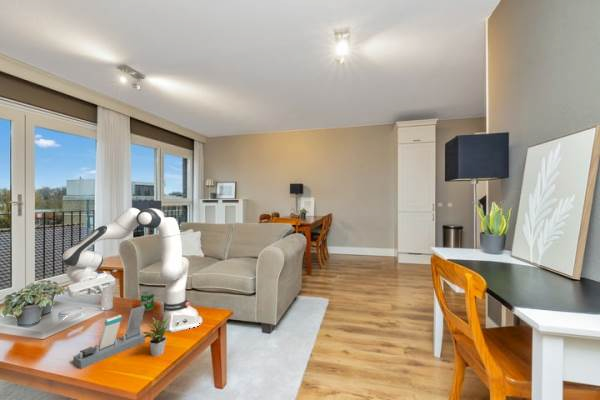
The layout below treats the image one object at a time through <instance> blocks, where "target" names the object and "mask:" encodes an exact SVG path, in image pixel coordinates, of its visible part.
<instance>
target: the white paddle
mask: <svg viewBox="0 0 600 400" xmlns="http://www.w3.org/2000/svg"><path fill="white" fill-rule="evenodd" d="M122 319H123V315H122V314H118V315H116V316H112V317H109V318H107V319H105V321H104V326H103V329H102V332H101V335H100V339H99V343H98V346H99V349H102V348H104V347H107V346H109V345H112V344H114V342H115V338H116V339H117V334H118V332H119V328H120V324H121V321H122Z"/></svg>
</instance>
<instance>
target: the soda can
mask: <svg viewBox="0 0 600 400" xmlns="http://www.w3.org/2000/svg"><path fill="white" fill-rule="evenodd" d="M154 303H155V292H154V291H153V290H150V289H149V290H144V291H142V292H141V294H140V306H143V305H144V306H145V310H144V312H149V311H151V310H153V309H154V307H155V306H154Z"/></svg>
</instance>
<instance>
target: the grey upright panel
mask: <svg viewBox="0 0 600 400" xmlns="http://www.w3.org/2000/svg"><path fill="white" fill-rule="evenodd" d="M144 310H145V306H144V305H143V306H141V305H139V306H137V307H134V308H131V309H130V313H129V318H128V321H127V326H126V329H125V330H126V331H125V334H124V335H125V336H126V339H127V338H129V337H132V336H134V335H137V334H139V330H140V329H141V325H142V323H143V317H144V313H145V311H144Z"/></svg>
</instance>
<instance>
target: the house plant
mask: <svg viewBox="0 0 600 400" xmlns="http://www.w3.org/2000/svg"><path fill="white" fill-rule="evenodd" d="M168 317H169V316H168ZM168 317H167V318H166V319H164V320H163V319H162V321H161V319H159V320H158V319H156V318H154V317H152V320H153V322H151V324H152V325H150V324H147V323H142V325H144V326H147V327H149V330H150V331H149V332H148V331H141V332H139V333H141V334H143V335H145V336H144V338H145V339H146V338H151V339H150V340H149V346H150V353H151V356H152V357H158V356H161V355H163V354H164V351H165V346H166V342H167V337H166V336H164V335H165V334H167V333H169V332H170V333H172V332H171V331H167V330H165V329H167V327H165V325H166V324H167V322H168V320H169V319H168ZM167 319H168V320H167ZM163 321H164V322H163ZM166 321H167V322H166ZM165 322H166V324H165ZM169 322H170V321H169ZM162 323H163V324H162ZM164 324H165V325H164ZM167 325H168V324H167ZM161 326H162V328H161ZM168 326H169V325H168ZM164 327H165V328H164ZM144 338H143V339H144Z"/></svg>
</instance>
